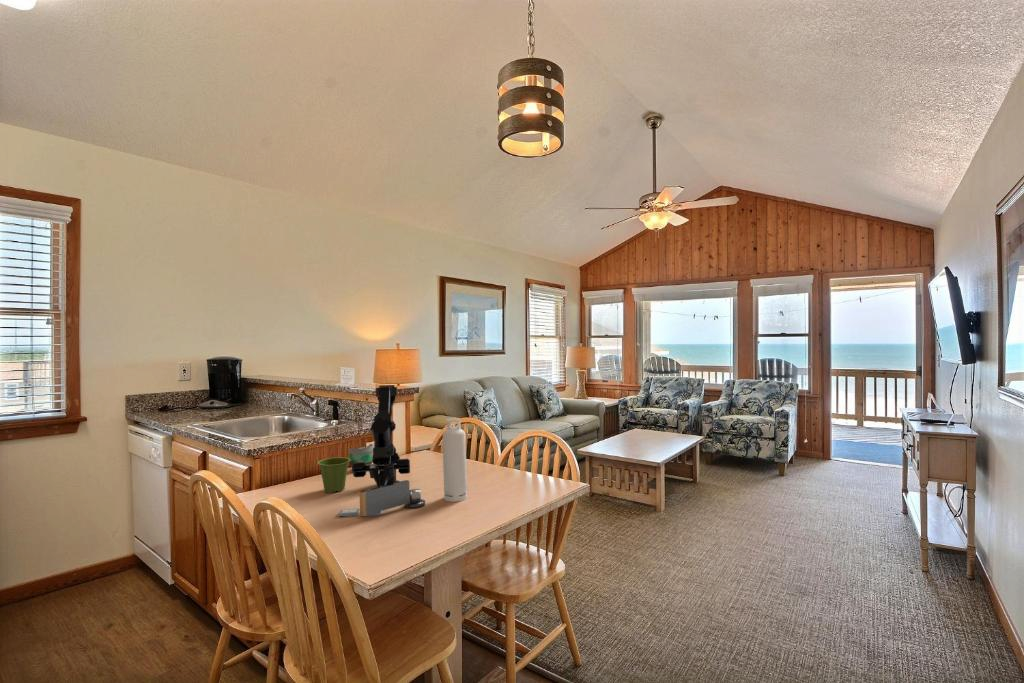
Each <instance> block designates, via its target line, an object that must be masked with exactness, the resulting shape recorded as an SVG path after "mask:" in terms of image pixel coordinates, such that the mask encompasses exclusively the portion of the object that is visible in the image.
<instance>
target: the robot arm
mask: <svg viewBox="0 0 1024 683" xmlns="http://www.w3.org/2000/svg"><path fill="white" fill-rule="evenodd" d="M398 393H399V392H398V387H397V386H395V384H386V385H385V384H383V385H382V384H381V385H379V386H378V387H375V398H377V401H378V412H377V413H376V414H375V415H374V417H373V418H374V419H373V421H372V422H371V427H370V432H371V433H372V437H373V447H374V448H373V452H372V464H370V465H368V466H365V462H354V463H353V465H352V468H351V471H352V475H353V477H354V478H364V477H365V476H366V475H367V472H369V477H370V479H373V480H374V482H375V484H376V487H380V486H384V485H388V484H392V483H396V482H400V480H397V470H398V473H399V474H400V475H405V474H410V473H411V462H410V461H411V460H410V459H409V458H400V455H399V452H397V449H396V446H395V445H394V444H393V432H395V430H396V427H397V426H396V423H395V421H394V420H393V407H394V405H395V403H396V402H397V399H396V398H397V397H398V395H399V394H398Z"/></svg>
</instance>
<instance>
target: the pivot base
mask: <svg viewBox="0 0 1024 683" xmlns="http://www.w3.org/2000/svg"><path fill="white" fill-rule="evenodd" d="M425 506H426V500H425V499H423V498H421V501H420V502H418V503H408V504H405V505H404V508H405V509H410V510H411V509H415V510H416V509H419V508H423V507H425Z"/></svg>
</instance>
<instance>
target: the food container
mask: <svg viewBox="0 0 1024 683" xmlns="http://www.w3.org/2000/svg"><path fill="white" fill-rule="evenodd" d="M373 448H374V444H373V443H369V445H367V446H359V447H358V448H349V449H348V455H349V459H350V469H352V465H353V463H354V462H365V466H368V465H370V464H373V462H372V456H373Z"/></svg>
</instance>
